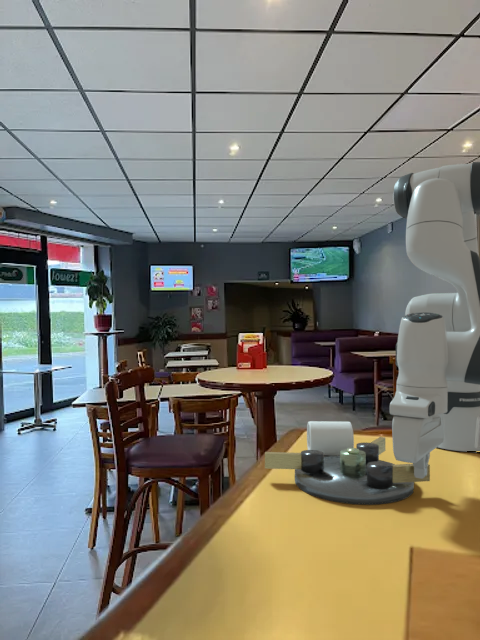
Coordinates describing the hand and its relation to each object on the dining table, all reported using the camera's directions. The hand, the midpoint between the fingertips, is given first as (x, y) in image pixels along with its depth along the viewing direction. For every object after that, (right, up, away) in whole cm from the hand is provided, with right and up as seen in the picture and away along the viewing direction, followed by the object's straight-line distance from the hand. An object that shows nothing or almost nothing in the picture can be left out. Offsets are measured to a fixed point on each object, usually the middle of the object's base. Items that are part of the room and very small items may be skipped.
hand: (420, 476), depth 91 cm
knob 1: (-22, -1, +9) cm, 24 cm away
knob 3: (-4, -1, +1) cm, 4 cm away
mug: (-12, -4, +30) cm, 32 cm away
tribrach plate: (-10, -4, +8) cm, 14 cm away
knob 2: (-4, -1, +18) cm, 18 cm away
